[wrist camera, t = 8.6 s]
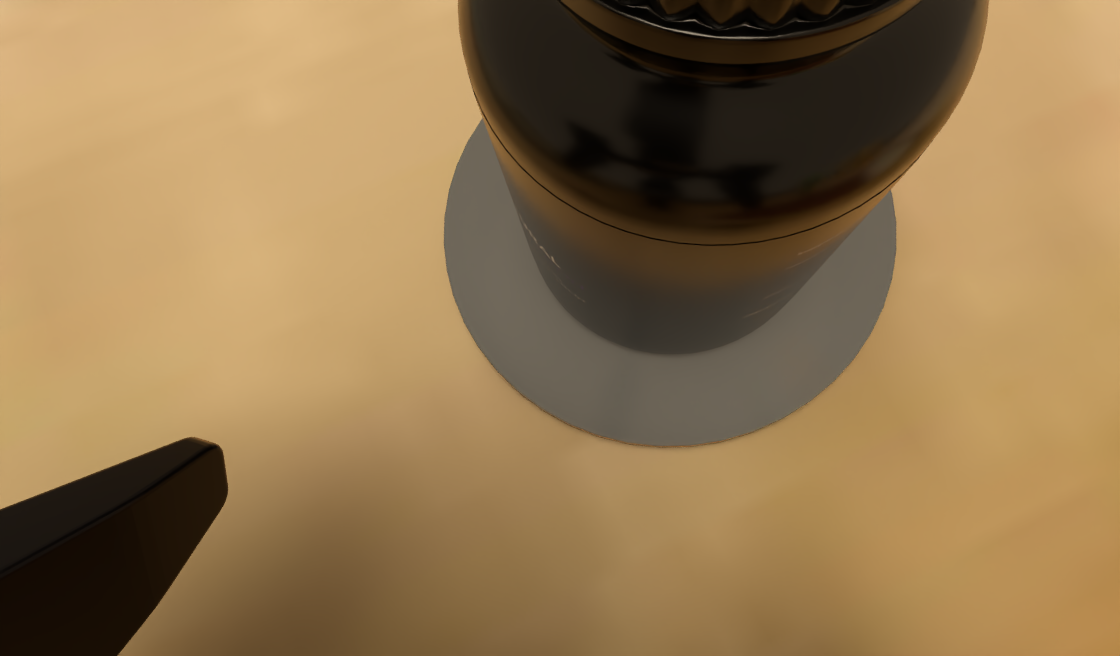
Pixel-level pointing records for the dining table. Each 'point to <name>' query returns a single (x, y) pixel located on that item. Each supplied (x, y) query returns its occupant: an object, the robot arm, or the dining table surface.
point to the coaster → (640, 377)
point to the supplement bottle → (706, 143)
